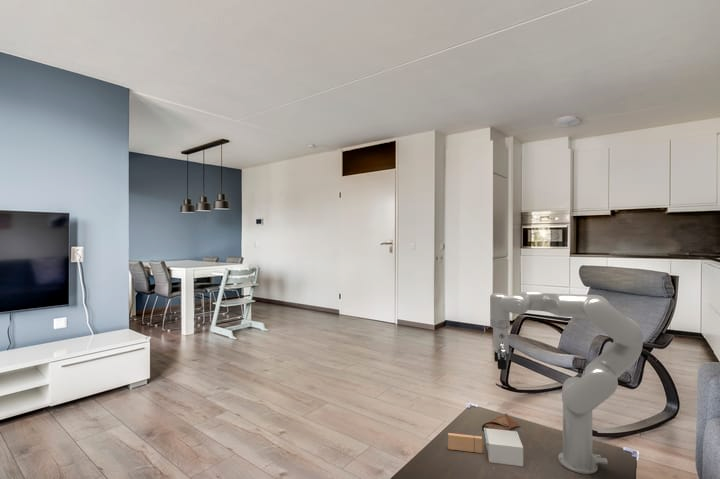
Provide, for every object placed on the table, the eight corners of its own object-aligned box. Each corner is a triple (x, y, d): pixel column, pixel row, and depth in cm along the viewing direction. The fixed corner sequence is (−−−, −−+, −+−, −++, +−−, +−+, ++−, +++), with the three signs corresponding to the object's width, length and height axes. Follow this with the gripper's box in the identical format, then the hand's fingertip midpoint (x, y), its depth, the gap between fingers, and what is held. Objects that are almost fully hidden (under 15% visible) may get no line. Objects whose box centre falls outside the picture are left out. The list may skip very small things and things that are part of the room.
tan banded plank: (481, 450, 147) (481, 436, 147) (482, 453, 146) (482, 438, 146) (448, 446, 150) (448, 432, 150) (448, 449, 148) (448, 435, 149)
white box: (517, 448, 149) (517, 430, 149) (523, 466, 137) (523, 447, 137) (483, 444, 152) (483, 427, 152) (486, 461, 140) (486, 442, 140)
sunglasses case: (499, 438, 157) (491, 421, 159) (486, 441, 161) (479, 424, 164) (522, 425, 167) (514, 410, 170) (509, 428, 172) (502, 413, 175)
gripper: (513, 328, 143) (513, 373, 143) (506, 319, 160) (506, 359, 160) (492, 327, 145) (493, 371, 145) (487, 318, 162) (488, 358, 162)
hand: (500, 365), depth 153 cm, fingers open, 9 cm apart
